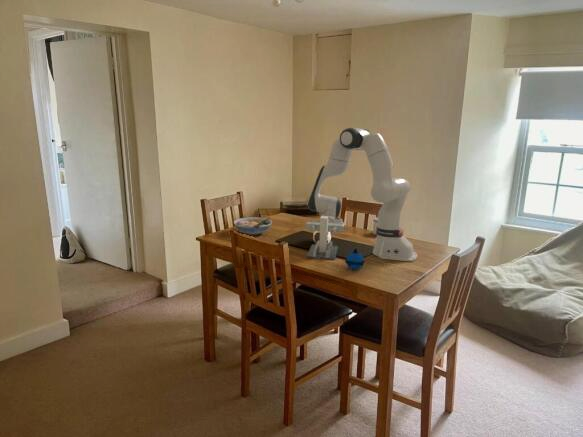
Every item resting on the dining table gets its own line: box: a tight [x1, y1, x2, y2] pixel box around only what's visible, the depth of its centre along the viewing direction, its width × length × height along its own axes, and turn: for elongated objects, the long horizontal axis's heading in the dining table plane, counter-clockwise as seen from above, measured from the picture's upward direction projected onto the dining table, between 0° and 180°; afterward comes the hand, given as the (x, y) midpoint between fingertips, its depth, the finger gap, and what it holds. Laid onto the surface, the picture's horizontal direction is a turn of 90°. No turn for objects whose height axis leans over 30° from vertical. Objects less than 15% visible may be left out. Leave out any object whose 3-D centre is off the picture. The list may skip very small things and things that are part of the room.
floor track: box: [306, 239, 339, 261], centre depth 226 cm, size 20×14×4 cm
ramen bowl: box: [233, 216, 273, 236], centre depth 258 cm, size 25×23×8 cm
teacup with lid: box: [372, 216, 378, 236], centre depth 263 cm, size 12×9×12 cm
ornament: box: [345, 248, 365, 271], centre depth 202 cm, size 9×9×10 cm
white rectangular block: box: [319, 215, 329, 253], centre depth 224 cm, size 5×4×18 cm
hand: (323, 230), depth 224 cm, fingers open, 8 cm apart
